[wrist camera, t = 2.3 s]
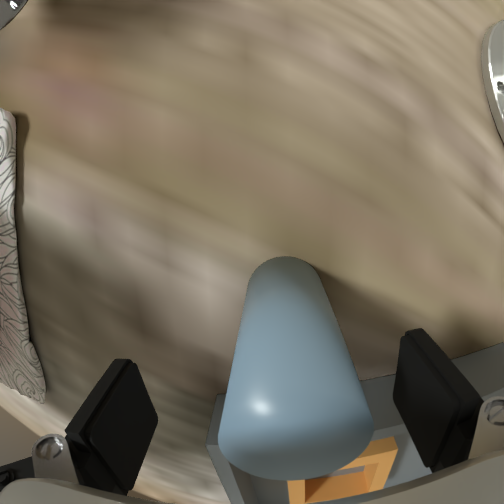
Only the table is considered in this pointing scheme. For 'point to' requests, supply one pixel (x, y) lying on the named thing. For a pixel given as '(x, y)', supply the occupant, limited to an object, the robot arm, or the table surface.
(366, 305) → the table surface
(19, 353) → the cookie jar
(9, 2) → the wine glass
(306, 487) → the frame
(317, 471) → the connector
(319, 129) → the table surface
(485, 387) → the walled box
